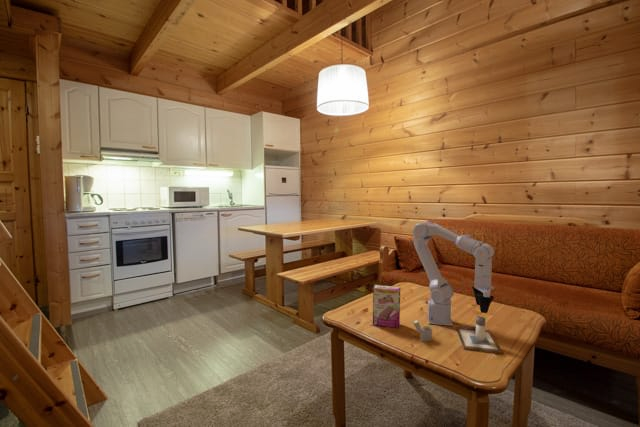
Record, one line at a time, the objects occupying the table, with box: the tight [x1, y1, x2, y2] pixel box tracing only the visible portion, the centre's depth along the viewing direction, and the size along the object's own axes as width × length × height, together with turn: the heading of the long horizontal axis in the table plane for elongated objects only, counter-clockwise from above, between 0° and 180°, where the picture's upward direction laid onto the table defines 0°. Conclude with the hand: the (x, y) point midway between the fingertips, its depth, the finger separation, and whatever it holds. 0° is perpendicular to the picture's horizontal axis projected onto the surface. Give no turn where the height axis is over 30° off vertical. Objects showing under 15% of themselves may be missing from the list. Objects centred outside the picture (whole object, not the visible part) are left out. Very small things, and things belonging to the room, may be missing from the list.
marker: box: [475, 316, 486, 342], centre depth 111 cm, size 3×3×8 cm
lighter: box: [412, 319, 433, 342], centre depth 114 cm, size 7×2×8 cm, turn 100°
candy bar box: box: [372, 284, 401, 329], centre depth 127 cm, size 11×5×16 cm, turn 74°
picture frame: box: [455, 325, 502, 354], centre depth 113 cm, size 12×16×2 cm
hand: (481, 308), depth 117 cm, fingers open, 7 cm apart
